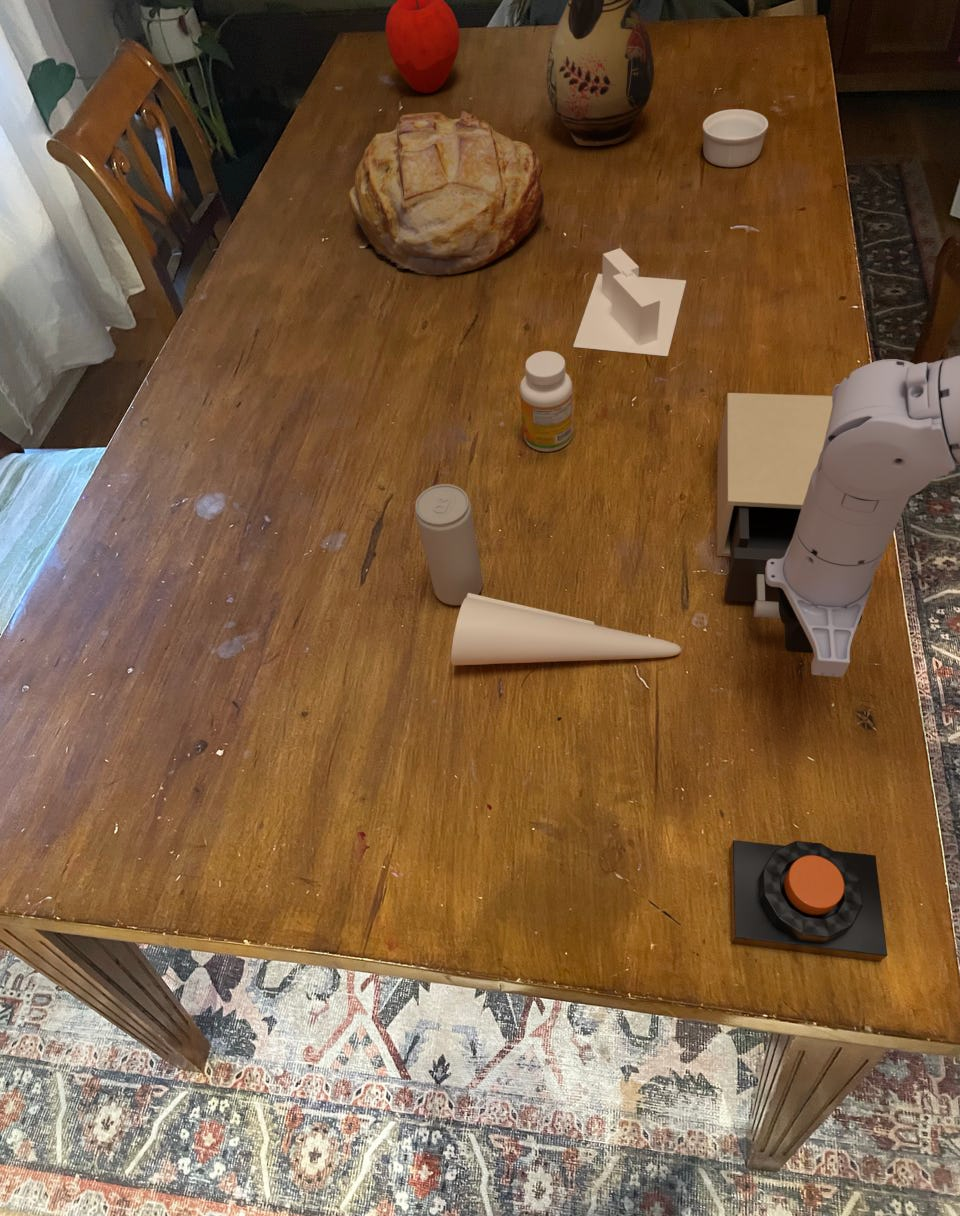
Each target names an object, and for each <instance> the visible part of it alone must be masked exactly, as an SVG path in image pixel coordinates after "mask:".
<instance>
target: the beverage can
mask: <svg viewBox="0 0 960 1216" xmlns="http://www.w3.org/2000/svg"><path fill="white" fill-rule="evenodd" d="M414 505H415V509H414V512H415V515H414V516H415V520H416V524H417V525H416V526H417V527H418V532H419V536H420V539H421V543H422V547H423V551H424V554H425V555H424V556H425V559H426V563H427V566H428V570H429V576H430V579H431V584H432V588H433V591H434V594H435V596H436V598H437V599H438V600H439V601H440V602H442V603H444V604H446V605H448V606H449V605H450V606H461V605H462V603H463V601H464V599H465V598H466V597H467V594H468V593H471V594H476V595H479V594H480V593H481V592H482V590H483V586H484V579H483V573H482V567H481V560H480V553H479V548H478V542H477V535H476V528H475V522H474V521H475V520H474V515H473V510H472V504H471V500H470V499H469V496H468V494H467V492H465V490H463V489H462V488H461V487H459V486H457V485H454V484H452V483H451V484H450V483H439V484H435V485H432V486H429V487H428V488H426V489H424V490H423V491H422V492H420V494H419V495H418V497H417V499H416V501H415V504H414Z"/></svg>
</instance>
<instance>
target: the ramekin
mask: <svg viewBox="0 0 960 1216" xmlns="http://www.w3.org/2000/svg"><path fill="white" fill-rule="evenodd" d="M768 128H769V120H768V119H767V117H766V116H764V115H763V114H762V113H759V112H758V111H757V112H756V111H754V110H750V109H741V108H732V109H724V110H720V111H716V112H714V113H712V114H710V115H709V116H707V117H706V118H705V119H704V121H703V122H702V132H703V142H702V143H703V148H702V149H703V150H702V151H703V156H704V159H705V160H706V161H707V162H708V163H710V164H712V165H715V166H717V167H723V168H738V167H743V166H747V165H749V164H751V163H753V162H754V161H756V160H757V159H758V158H759V156H760V154H761V151H762V148H763V146H764V145H763V144H764V140H765V135H766V133H767V131H768Z"/></svg>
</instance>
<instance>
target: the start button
mask: <svg viewBox="0 0 960 1216" xmlns="http://www.w3.org/2000/svg"><path fill="white" fill-rule="evenodd" d="M784 888H785V893H786V895H787V897H788V899H789V900H790V902H791V903H792V904H793V905H794V906H795V907H796V908H797V909H799V910H800V911H802V912H804V913H807V914H810V915H822V914H826V913H828V912H829V911H831V910H832V909H833V908H834V907H835V906H836V904H837V903H838V902H839V901H840V899H841V898H842V896H843V893H844V881H843V877H842V875H841V873H840V871H839V870H838V869H837V867H836V866H835V865H834V864H832V863H831V862H830V861H828V860H827V859H825V858H822V857H819V856H813V855H809V856H804V857H801V858H799V859H797V860H796V861H795V862H794V863H793V864H792V866H791V868H790V869H789V871H788V873H787V874H786V877H785V880H784Z"/></svg>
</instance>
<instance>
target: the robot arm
mask: <svg viewBox="0 0 960 1216" xmlns="http://www.w3.org/2000/svg"><path fill="white" fill-rule="evenodd" d="M831 396H832V405H833V406H832V410H831V415H830V419H829V424H828V428H827V432H826V437H825V441H824V445H823V450H822V451H821V453H820V456H819V460H818V464H817V466H816V468H815V469H814V471H813V473H812V476H811V480H810V483H809V486H808V489H807V492H806V496H805V499H804V502H803V505H802V509H801V512H800V515H799V518H798V522H797V525H796V528H795V531H794V535H793V538H792V540H791V543H790V545H789V547H788V549H787V551H786V554H785V556H784V557H783V558H781V559H769V560H768V561H767V564H766V567H765V579H766V583H767V584H768V585H769V586H772V587H778V590H779V592H778V603H779V614H780V618H781V619H780V621H781V623H782V624H783V628H784V629H783V630H784V647H785V650H786V651H787V652H790V653H802V654H813V658H812V660H811V662H810V670H811V671H810V672H811V675H813V676H822V677H832V678H833V677H835V678H843V677H844V676H845V673H846V671H847V670H848V667H849V665H850V664H851V645H852V642H853V639H854V636H855V634H856V630H857V628H858V627H859V626H860V624H861V621H862V619H863V612H864V610H865V607H866V604H867V601H868V600H869V597H870V594H871V591H872V588H873V583H874V577H875V574H876V571H877V570H878V567H879V565H880V563H881V562H882V559H883V557H884V555H885V552H886V550H887V548H888V545H889V543H890V541H891V539H892V537H893V534H894V533H895V530H896V529H897V526H898V523H899V522H900V519H901V517H902V515H903V513H904V511H905V508H906V506H907V505H908V502H909V499H910V497H912V496H914V495H916V494H917V493H919V492H921V491H922V490H923V489H925V488H926V487H927V486H928V485H929V484H930V483H931V482H932V481H934V480H935V479H937V478H941V477H945V476H949V475H950V472H954V471H955V470H956V467H957V466H960V354H959V355H955V356H952V357H948V358H945V359H940V360H936V361H934V362H927V361H924V362H919V363H916V364H915V363H913V362H911V361H908V360H905V359H904V360H903V359H897V358H894V359H893V358H888V359H880V360H875V361H873V362H870V363H867V364H864V365H863V366H860V367H858V368H856V369H854V370H853V371H851V372H850V373H849V377H848V378H847V377H844V378H843V379H842V381H840V383H836V384H835V385H834V386H833V389H832V395H831Z"/></svg>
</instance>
